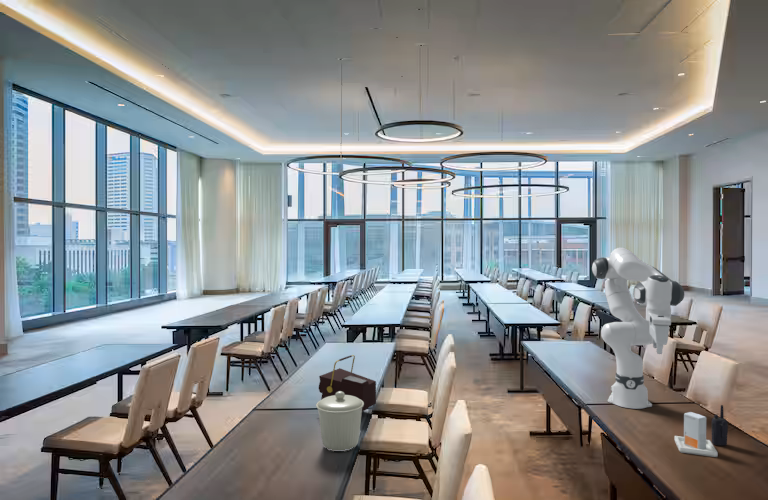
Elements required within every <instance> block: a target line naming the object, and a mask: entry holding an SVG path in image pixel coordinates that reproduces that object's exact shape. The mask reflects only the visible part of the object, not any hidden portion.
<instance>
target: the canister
mask: <svg viewBox="0 0 768 500" xmlns="http://www.w3.org/2000/svg"><path fill="white" fill-rule="evenodd" d="M363 406H364V402H363V401H362V400H361V399H359V398H357V397H355V396H351V395H345V394H344V392H342V391H338V392H337V393H336V394H335V395H333V396H328V397H326V398H323V399H322V400H321V399H320V400H319V401H317V403H316V404H315V407H316V408H317V411H318V412H317V413H318V421H319V429H320V435H321V441H322V445H323V447H324V446H325V447H326V448H328V449H332V450H345V449H350V448H352V447H354V448H356V447H357V445H358V443H359V440H360V431H361V423H362V422H361V421H362V414H363V412H362V407H363ZM325 447H324V448H325ZM326 448H325V449H326ZM328 449H327V450H328Z"/></svg>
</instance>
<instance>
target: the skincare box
mask: <svg viewBox="0 0 768 500" xmlns="http://www.w3.org/2000/svg"><path fill="white" fill-rule="evenodd" d="M683 437H684V445H687V446H689V447H692V448H694V449H702V450H703V449H706V440H707V416H704V415H702V414H699V413H695V412H692V411H688V412H685V413H684V414H683Z"/></svg>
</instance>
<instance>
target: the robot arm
mask: <svg viewBox="0 0 768 500" xmlns="http://www.w3.org/2000/svg"><path fill="white" fill-rule="evenodd" d="M591 271H592V274H593V276H594V277H595V278H596V279H599V280H605V281H604V293H605V297H606V301H607V305H608V307H609V311H610V314H611V315H612V316H613V317H615V318H617V319H619V320H621V321H613V322H608V323H605V324H604V325H603V326H602V328H601V330H600V336H601V339H602V340H603V341H604V342H605V344H607V345H608V346H609V347H610V348H611V349H612V351H613V353H614V356H615V360H616V361H615V363H616V372H615V375H614V377H615V382H614V383H613V384H612V385H611V386H610V391H612V392H610V393H611V394H610V395H609V397H608V399H607V402H608V403H609V404H613V405H616V406H618V407H622V408H626V409H634V410H635V409H637V410H641V409H645V408H652V407H653V403H651V402H650V401H649V400H648V399H649V398H648V397H649V395H648V393H649V391H648V388H647V387H646V386H645V383H644V382H645V377H644V373H643V370H644V367H643V366H644V364H643V362H644V361H643V359H642V356H640V355H639V354H637V353H635V352H633V351H632V348H631V347H632V346H647V345H652V347H653V348H654V349H656V354H657V355H662V354H663V348H664V346H665V345H667V344H668V341H669V331H670V326H671V325H672V307H676V306H677V305H679V304H681V302H682V301H683V300H684V298H685V289H684V288H683V286H682V285H681V284H680V283H679V282H678V281H676V280H672V279H670V277H668V276H667V275H666V274H664V273H663V272H662V271H660V269H658V268H656V267H654V266H652V265H651V264H648V263H646V262H645V261H643V260H641V259H639V258H638V257H637V255H636V254H635V253H634V252H632V251H631V250H630V249H628V248H625V247H616V248H614V249H613V250H612V251H611V252H610V255H609V256H606V257H599V258H596V259H594V261H593V262H592V267H591ZM628 281H634V282H637V283H636V284H635V286H634V288H633V297H632V294H631V292H630V288H629V287H628ZM633 298H634V300H633ZM634 301H636V302H637V303H638V304H641V305H645V306H646V307H645V317H643V316H642V314H641V313H640V312H639V311H638V309H637V308H636V305H635V302H634ZM671 306H672V307H671Z"/></svg>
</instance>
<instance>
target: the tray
mask: <svg viewBox="0 0 768 500" xmlns="http://www.w3.org/2000/svg"><path fill="white" fill-rule="evenodd" d="M673 438H674V443H675V444H676V447H677V449H678V451H679V453H682V454H690V455H698V456H703V457H704V456H705V457H713V458H718V455H719V454H718V451H717V449H716V447H715V446H714V444H713V443H712V440H711V439H706V449H703V450H702V449H694V448H692V447H689V446H687V445H684V436H678V435H674V437H673Z"/></svg>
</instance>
